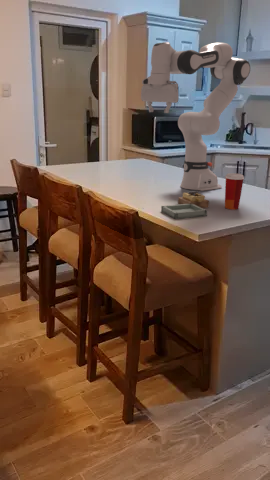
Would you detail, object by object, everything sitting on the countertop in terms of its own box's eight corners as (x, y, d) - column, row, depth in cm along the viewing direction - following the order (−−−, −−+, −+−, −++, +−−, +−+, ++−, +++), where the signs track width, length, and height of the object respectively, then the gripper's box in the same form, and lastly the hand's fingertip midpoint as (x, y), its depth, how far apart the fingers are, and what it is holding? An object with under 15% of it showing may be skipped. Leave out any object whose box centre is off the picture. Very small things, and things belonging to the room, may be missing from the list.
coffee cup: (238, 205, 197) (241, 173, 193) (243, 210, 190) (246, 176, 185) (220, 205, 197) (223, 172, 192) (224, 210, 189) (227, 176, 184)
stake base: (196, 202, 202) (197, 196, 201) (208, 207, 193) (209, 200, 192) (177, 203, 198) (178, 197, 197) (189, 209, 189) (189, 202, 188)
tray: (191, 208, 190) (191, 203, 189) (206, 215, 179) (207, 210, 178) (161, 211, 184) (161, 205, 183) (175, 219, 173) (175, 213, 173)
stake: (196, 198, 196) (196, 190, 195) (197, 199, 195) (198, 191, 193) (187, 199, 194) (188, 191, 193) (189, 199, 193) (189, 192, 192)
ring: (182, 197, 197) (182, 192, 196) (194, 196, 199) (195, 191, 199) (193, 202, 188) (194, 197, 188) (206, 201, 191) (206, 196, 190)
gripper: (182, 81, 193) (180, 113, 197) (148, 81, 206) (147, 111, 210) (173, 80, 188) (171, 113, 193) (139, 80, 202) (138, 111, 206)
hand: (158, 112), depth 202 cm, fingers open, 8 cm apart
